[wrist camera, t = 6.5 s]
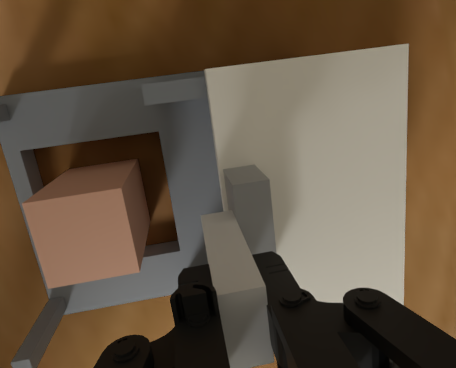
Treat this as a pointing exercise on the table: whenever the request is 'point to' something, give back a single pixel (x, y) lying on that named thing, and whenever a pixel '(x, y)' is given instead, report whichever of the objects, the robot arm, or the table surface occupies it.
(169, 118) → the sliding door cubby
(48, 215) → the block
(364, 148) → the cover
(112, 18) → the table surface
